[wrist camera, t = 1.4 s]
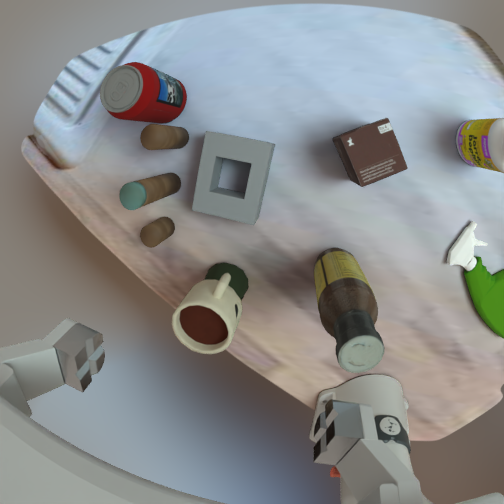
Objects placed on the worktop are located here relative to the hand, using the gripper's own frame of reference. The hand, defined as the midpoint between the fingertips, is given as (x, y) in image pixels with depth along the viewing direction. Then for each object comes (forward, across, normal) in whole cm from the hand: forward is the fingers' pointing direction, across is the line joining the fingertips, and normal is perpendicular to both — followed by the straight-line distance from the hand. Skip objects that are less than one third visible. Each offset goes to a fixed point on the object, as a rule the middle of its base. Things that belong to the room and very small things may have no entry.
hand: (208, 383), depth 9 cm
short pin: (+32, +14, +8) cm, 36 cm away
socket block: (+32, +6, -2) cm, 33 cm away
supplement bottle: (+32, -25, -16) cm, 44 cm away
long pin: (+32, +15, +1) cm, 36 cm away
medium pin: (+32, +15, -5) cm, 36 cm away
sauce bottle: (+32, -10, +7) cm, 34 cm away
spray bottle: (+32, -38, +2) cm, 50 cm away
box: (+32, -9, -9) cm, 35 cm away
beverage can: (+33, +18, -10) cm, 39 cm away
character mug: (+32, +4, +13) cm, 35 cm away
